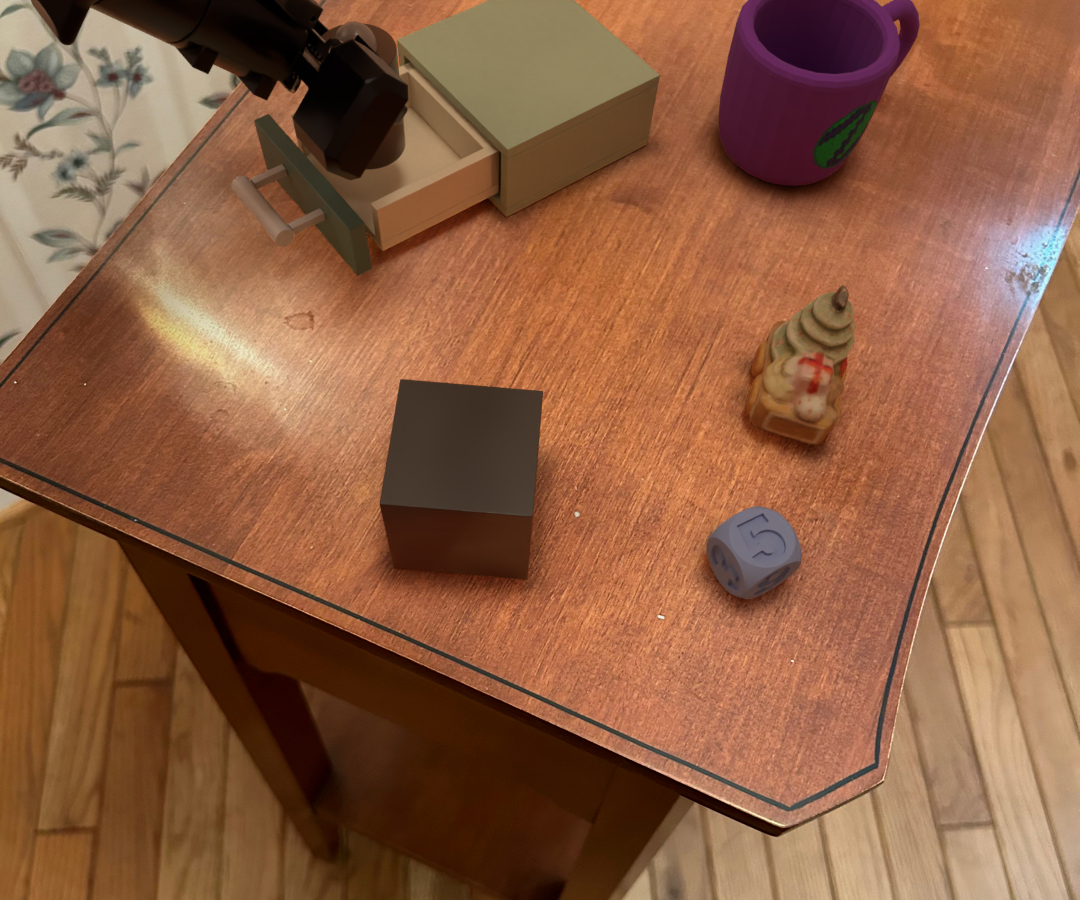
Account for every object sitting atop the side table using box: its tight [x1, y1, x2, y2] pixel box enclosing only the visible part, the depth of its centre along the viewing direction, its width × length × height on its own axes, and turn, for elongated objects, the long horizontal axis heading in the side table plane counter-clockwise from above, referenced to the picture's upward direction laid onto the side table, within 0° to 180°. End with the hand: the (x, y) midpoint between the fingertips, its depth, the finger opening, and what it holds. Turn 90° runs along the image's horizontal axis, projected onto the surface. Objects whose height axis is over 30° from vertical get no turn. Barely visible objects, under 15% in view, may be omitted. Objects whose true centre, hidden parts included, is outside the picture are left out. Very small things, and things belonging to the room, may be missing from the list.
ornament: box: [745, 285, 856, 446], centre depth 58 cm, size 8×6×10 cm
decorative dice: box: [705, 505, 803, 600], centre depth 55 cm, size 4×4×4 cm
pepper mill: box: [317, 20, 406, 170], centre depth 61 cm, size 5×5×9 cm
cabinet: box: [396, 0, 661, 218], centre depth 71 cm, size 14×14×6 cm
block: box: [378, 378, 544, 580], centre depth 54 cm, size 8×8×8 cm
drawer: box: [230, 62, 499, 277], centre depth 66 cm, size 16×12×4 cm
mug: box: [718, 0, 921, 187], centre depth 70 cm, size 17×11×10 cm, turn 124°
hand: (380, 91), depth 62 cm, fingers closed on pepper mill, 5 cm apart
